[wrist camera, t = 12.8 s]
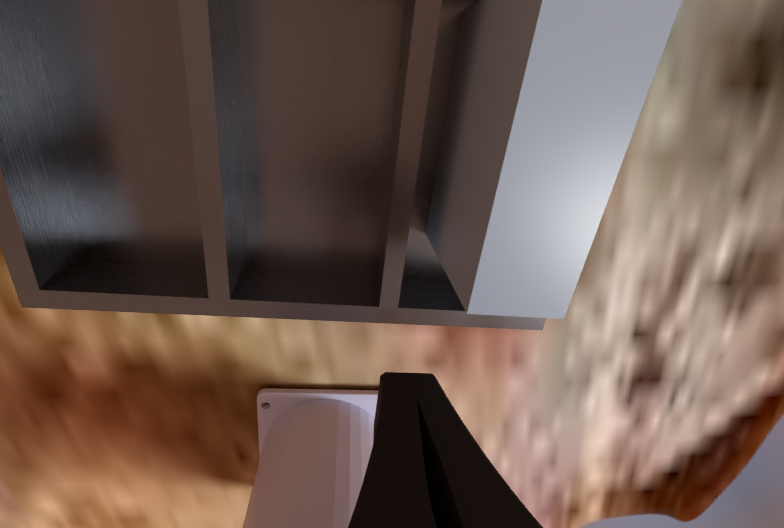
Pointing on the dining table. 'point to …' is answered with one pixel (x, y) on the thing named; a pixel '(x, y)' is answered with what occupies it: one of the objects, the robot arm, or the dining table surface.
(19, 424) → the dining table surface
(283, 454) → the robot arm
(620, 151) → the panel
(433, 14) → the rack
